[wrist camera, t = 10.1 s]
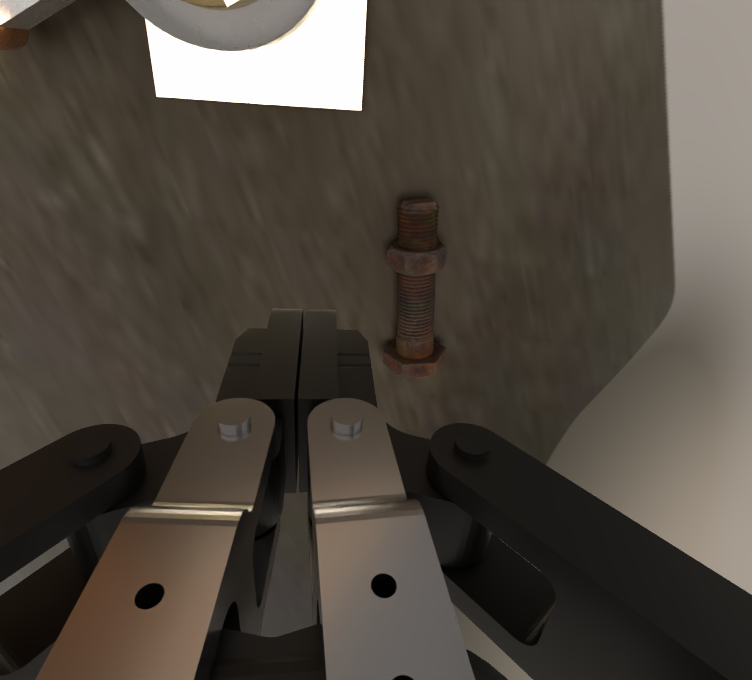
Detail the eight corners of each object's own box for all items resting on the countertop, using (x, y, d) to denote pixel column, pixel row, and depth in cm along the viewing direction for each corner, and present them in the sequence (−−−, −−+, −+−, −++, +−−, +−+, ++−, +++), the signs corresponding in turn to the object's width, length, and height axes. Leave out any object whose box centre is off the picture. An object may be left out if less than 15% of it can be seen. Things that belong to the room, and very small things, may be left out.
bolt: (419, 190, 41) (415, 344, 48) (370, 198, 38) (374, 359, 45) (468, 202, 36) (455, 368, 44) (416, 212, 34) (412, 387, 41)
